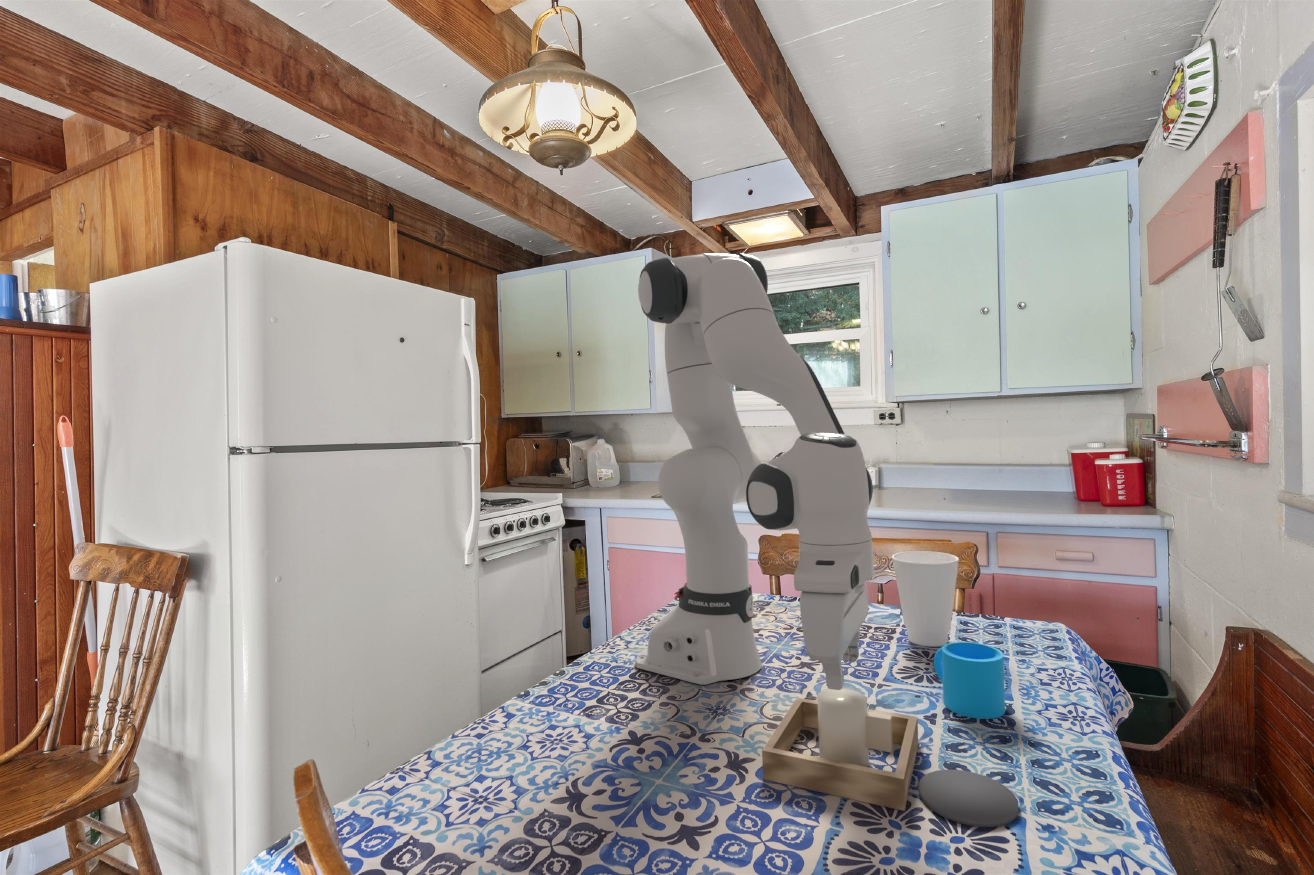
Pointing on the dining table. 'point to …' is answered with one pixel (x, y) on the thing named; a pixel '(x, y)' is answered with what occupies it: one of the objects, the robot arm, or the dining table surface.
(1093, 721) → the dining table surface
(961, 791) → the grey oval disc
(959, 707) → the mug
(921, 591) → the cup
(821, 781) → the holder
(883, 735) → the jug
